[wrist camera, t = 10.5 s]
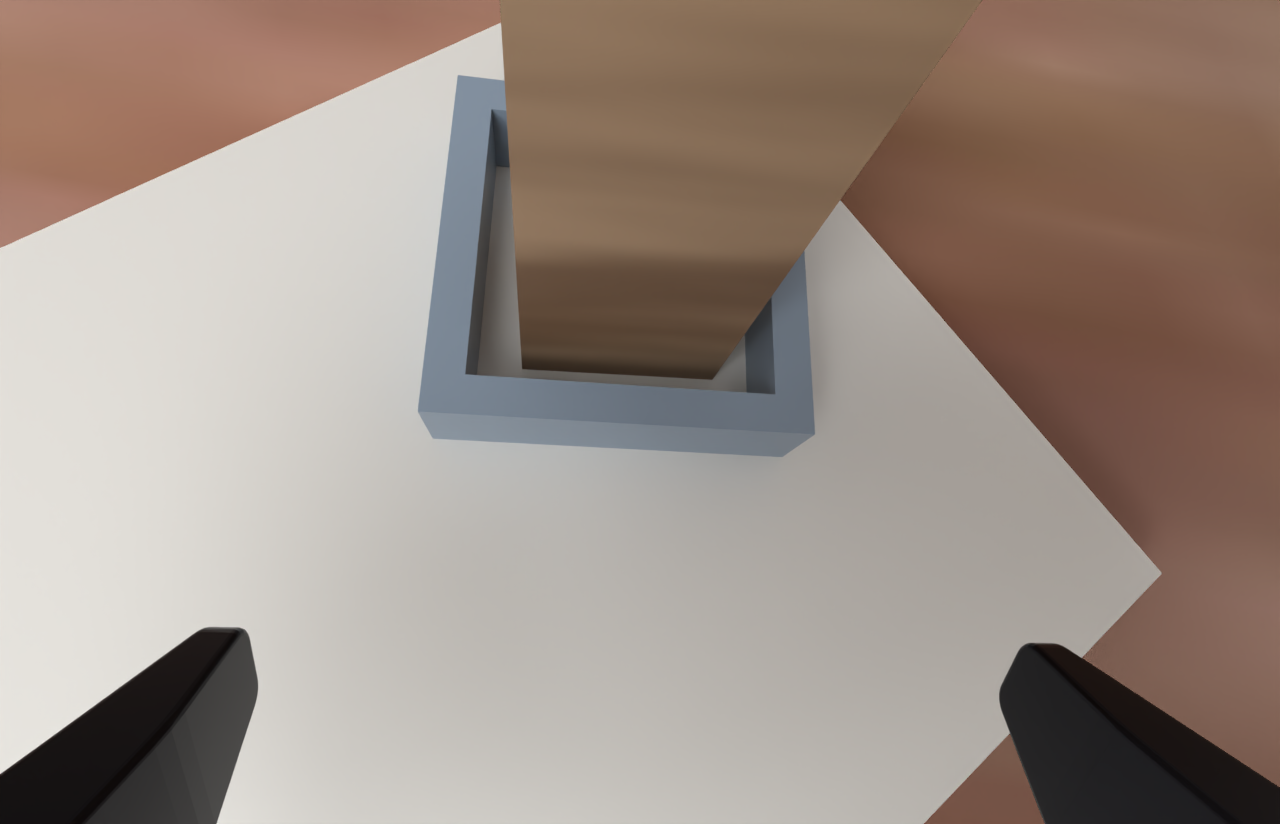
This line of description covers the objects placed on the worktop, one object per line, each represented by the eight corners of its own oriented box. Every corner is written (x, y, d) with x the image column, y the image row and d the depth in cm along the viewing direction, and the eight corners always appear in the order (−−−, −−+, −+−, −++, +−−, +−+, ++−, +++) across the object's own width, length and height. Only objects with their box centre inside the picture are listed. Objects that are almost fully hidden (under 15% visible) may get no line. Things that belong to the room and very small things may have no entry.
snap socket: (782, 457, 16) (815, 434, 14) (433, 438, 15) (417, 412, 13) (769, 167, 18) (796, 114, 16) (466, 135, 17) (457, 74, 15)
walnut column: (712, 379, 16) (1024, -58, 6) (522, 369, 16) (490, -139, 5) (708, 215, 18) (957, -382, 7) (532, 200, 17) (524, -476, 7)
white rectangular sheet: (1127, 576, 17) (1162, 573, 16) (-15, 1750, 10) (-75, 1872, 9) (630, -8, 21) (635, -38, 20) (-520, 527, 13) (-603, 519, 12)
